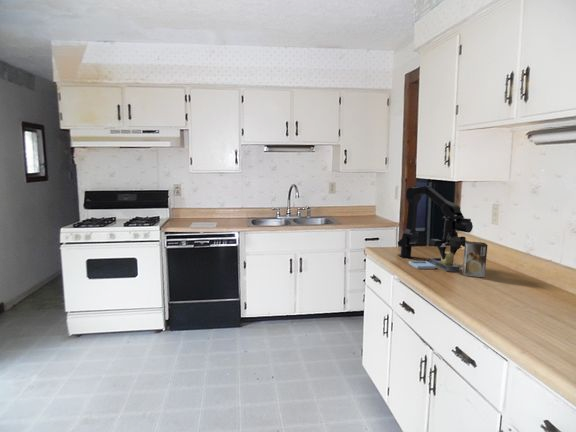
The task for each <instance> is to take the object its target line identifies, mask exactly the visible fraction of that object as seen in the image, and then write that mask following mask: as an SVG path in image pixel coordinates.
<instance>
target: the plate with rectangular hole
mask: <svg viewBox="0 0 576 432" xmlns="http://www.w3.org/2000/svg"><path fill="white" fill-rule="evenodd" d="M427 262H429V263H431V264H433V265H435V266H436V268H439V269H441V270H443V271H444V272H450V273H451V272H460V268H461V267H460V265H458V264H455V263H453V265H444V264H442V263H441V257H428V260H427Z"/></svg>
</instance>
